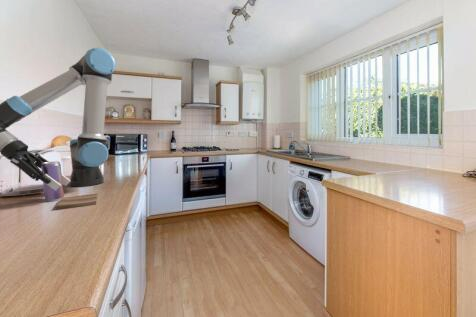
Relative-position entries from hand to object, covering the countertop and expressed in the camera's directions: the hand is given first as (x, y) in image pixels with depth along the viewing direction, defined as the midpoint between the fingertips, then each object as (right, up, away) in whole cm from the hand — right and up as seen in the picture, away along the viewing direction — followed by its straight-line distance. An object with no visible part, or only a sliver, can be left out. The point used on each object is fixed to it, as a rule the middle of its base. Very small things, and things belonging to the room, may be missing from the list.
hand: (63, 185), depth 93 cm
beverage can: (-3, -6, 0) cm, 7 cm away
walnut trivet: (+9, -6, -5) cm, 12 cm away
